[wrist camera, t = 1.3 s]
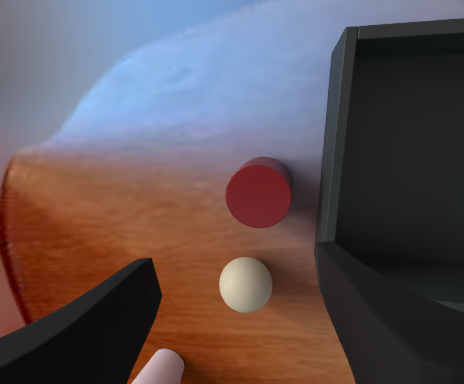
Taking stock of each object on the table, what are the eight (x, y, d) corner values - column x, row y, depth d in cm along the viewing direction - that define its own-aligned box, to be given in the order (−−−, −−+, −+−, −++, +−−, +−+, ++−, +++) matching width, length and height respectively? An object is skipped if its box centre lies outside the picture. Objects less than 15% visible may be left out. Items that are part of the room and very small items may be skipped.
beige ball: (275, 250, 23) (270, 279, 19) (273, 293, 24) (269, 330, 20) (226, 245, 24) (211, 271, 20) (227, 287, 25) (213, 320, 21)
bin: (575, 38, 15) (717, -2, 10) (502, 271, 19) (577, 328, 14) (331, 52, 18) (345, 26, 13) (314, 252, 22) (319, 293, 17)
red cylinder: (294, 157, 21) (293, 165, 17) (290, 213, 22) (289, 231, 18) (236, 156, 22) (224, 163, 18) (236, 209, 23) (225, 225, 20)
